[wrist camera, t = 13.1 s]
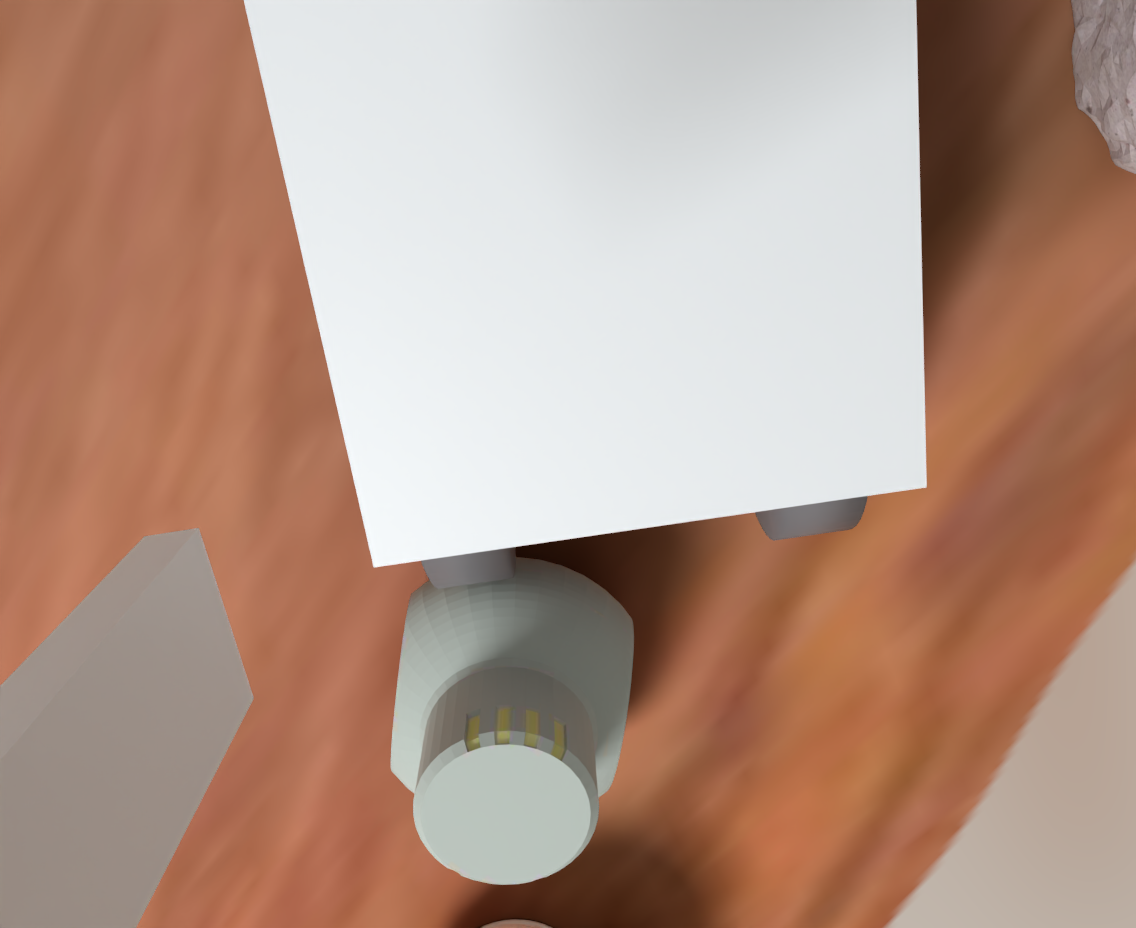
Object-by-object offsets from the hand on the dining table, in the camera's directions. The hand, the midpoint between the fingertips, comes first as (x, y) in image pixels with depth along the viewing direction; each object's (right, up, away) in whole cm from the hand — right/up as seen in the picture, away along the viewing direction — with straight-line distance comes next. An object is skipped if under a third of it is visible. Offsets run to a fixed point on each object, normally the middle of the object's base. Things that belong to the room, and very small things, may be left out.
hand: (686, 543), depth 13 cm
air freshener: (-4, -7, +27) cm, 28 cm away
